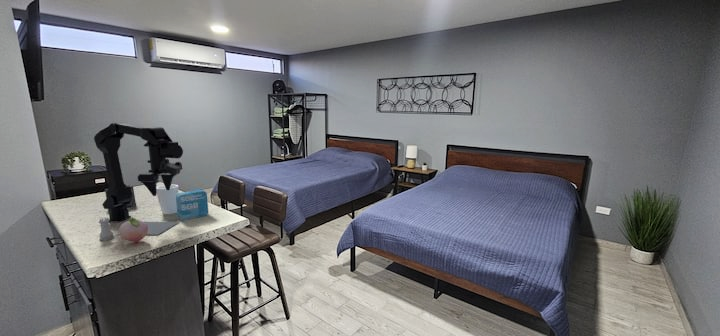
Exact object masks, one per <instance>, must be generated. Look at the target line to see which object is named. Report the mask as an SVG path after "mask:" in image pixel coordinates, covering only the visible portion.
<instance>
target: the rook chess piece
mask: <svg viewBox="0 0 720 336" xmlns="http://www.w3.org/2000/svg"><path fill="white" fill-rule="evenodd" d="M109 219H110V218H108V217H104V218H103V217H102V218H99V221H98V223H99V224H100V230H101V231H100V234H99V235H98V237H99V240H100V241H108V240H112V239H113V238H114V237H115V235H114V232H113V231H112V230H111V228H110V223H109V222H111V221H110V220H109Z"/></svg>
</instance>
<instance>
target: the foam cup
mask: <svg viewBox="0 0 720 336" xmlns="http://www.w3.org/2000/svg"><path fill="white" fill-rule="evenodd" d="M179 190H180V189H179V185H178V184H173V183H171V186H170V190H166V188H165V185H164V184H163V185H157V186H156V196H157V200H158V203H159V206H160V210H161V213H162V215H166V216H167V215H172V214H177V204H176V195H177V194H178V193H179Z"/></svg>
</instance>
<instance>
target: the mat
mask: <svg viewBox="0 0 720 336" xmlns="http://www.w3.org/2000/svg"><path fill="white" fill-rule="evenodd" d="M144 222H145V223H146V224H147V226H148V232H147V234H146V236H160V235H161V234H163V233H165V232H166V231H168V230H169V229H172V228H173V227H175V226H176V225H178V224H180V221H144ZM117 236H120V235H119V233H118V234H117Z"/></svg>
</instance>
